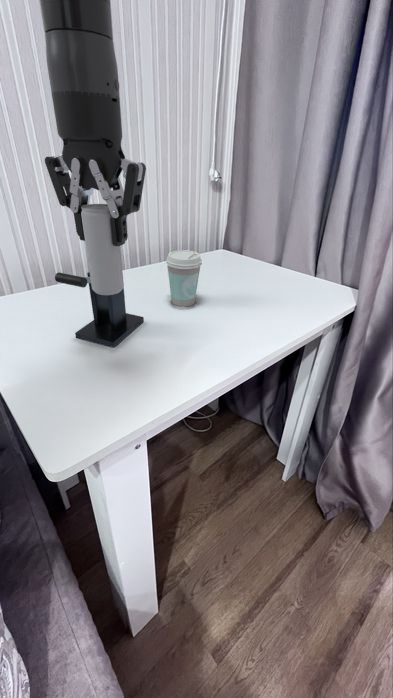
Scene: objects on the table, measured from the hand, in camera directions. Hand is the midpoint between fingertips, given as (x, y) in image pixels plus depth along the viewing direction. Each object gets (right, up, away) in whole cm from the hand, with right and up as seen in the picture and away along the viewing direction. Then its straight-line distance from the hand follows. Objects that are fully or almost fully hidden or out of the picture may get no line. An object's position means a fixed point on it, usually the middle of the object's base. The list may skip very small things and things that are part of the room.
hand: (102, 241), depth 47 cm
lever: (-6, -4, +13) cm, 15 cm away
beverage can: (0, -6, +4) cm, 8 cm away
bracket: (-5, -11, +24) cm, 26 cm away
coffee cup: (+10, -3, +37) cm, 38 cm away
